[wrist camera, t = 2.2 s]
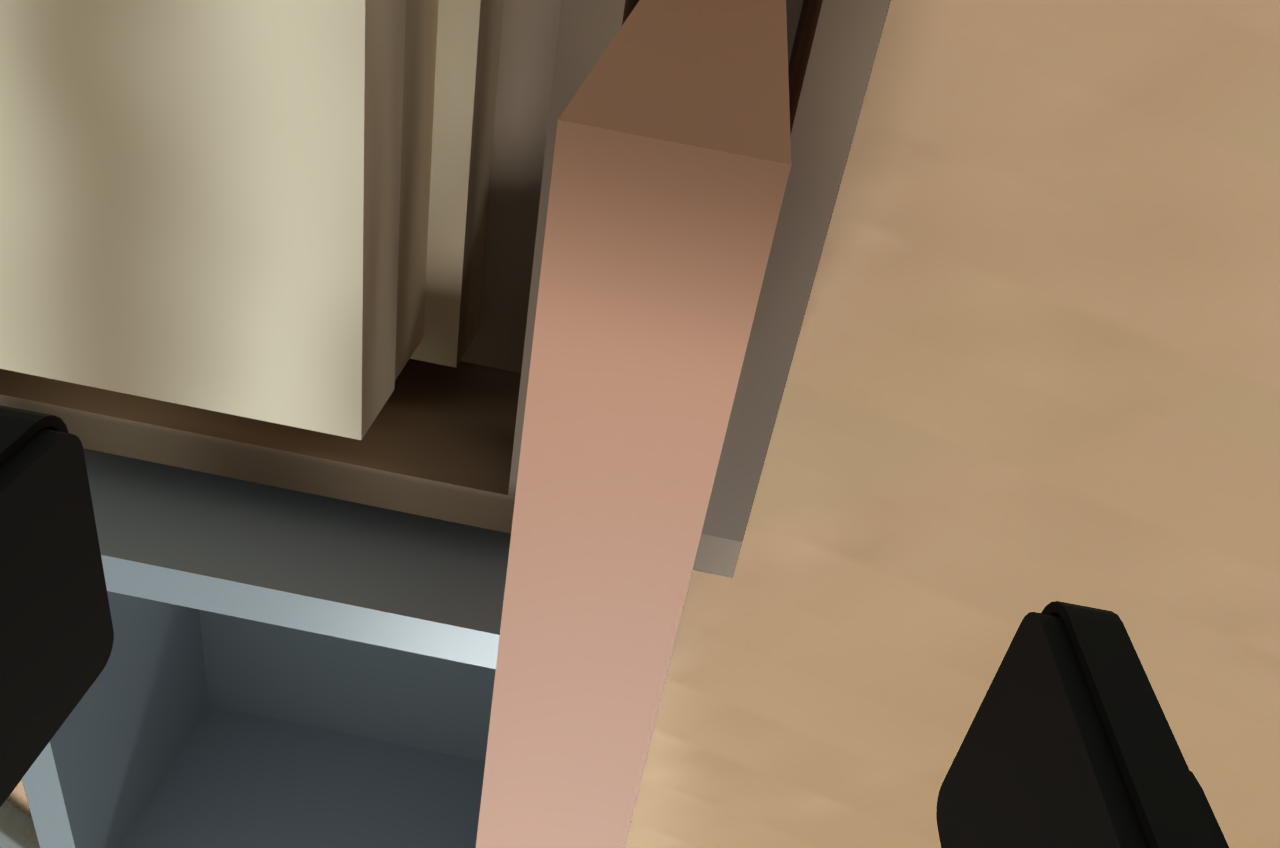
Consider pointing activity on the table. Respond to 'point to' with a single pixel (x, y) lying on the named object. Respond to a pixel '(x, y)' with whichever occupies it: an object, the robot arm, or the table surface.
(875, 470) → the table surface
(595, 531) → the block
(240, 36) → the offcut stack
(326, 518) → the bin
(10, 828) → the grey flat rectangular tray
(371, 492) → the brown wooden crate
